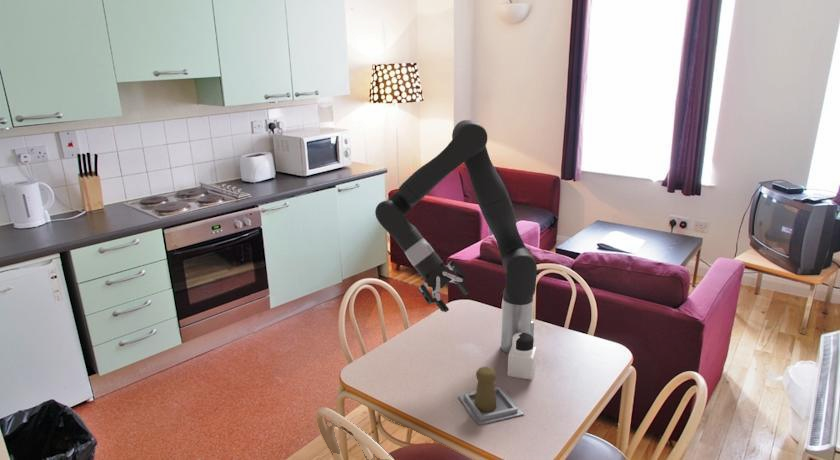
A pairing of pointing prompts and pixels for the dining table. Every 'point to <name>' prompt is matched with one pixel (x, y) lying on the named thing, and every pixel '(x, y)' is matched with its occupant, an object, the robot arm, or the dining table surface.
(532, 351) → the medicine bottle
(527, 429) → the dining table surface
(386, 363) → the dining table surface
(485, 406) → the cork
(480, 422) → the grey flat square tray
